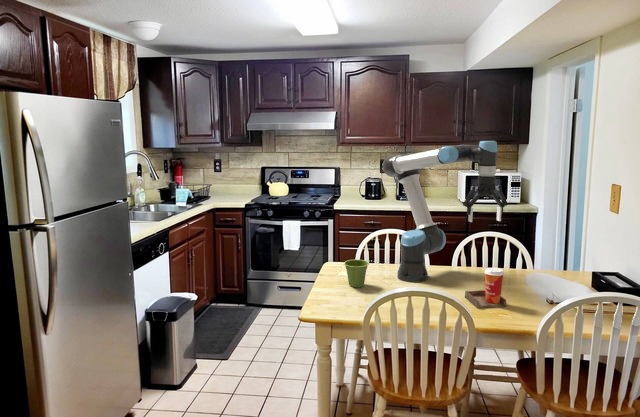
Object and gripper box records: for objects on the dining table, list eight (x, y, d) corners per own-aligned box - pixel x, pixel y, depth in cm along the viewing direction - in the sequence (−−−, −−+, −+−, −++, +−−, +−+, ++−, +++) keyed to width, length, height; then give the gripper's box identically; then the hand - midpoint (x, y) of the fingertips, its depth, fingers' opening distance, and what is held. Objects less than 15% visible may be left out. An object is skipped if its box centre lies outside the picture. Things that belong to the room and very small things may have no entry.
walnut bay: (476, 308, 191) (477, 301, 190) (464, 297, 203) (465, 291, 203) (506, 306, 192) (506, 300, 191) (492, 296, 204) (492, 289, 204)
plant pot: (339, 285, 221) (339, 263, 219) (354, 279, 230) (354, 258, 228) (358, 291, 213) (358, 268, 212) (373, 284, 222) (373, 262, 220)
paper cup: (480, 298, 199) (481, 267, 196) (497, 297, 200) (498, 266, 197) (488, 305, 191) (489, 273, 189) (505, 304, 192) (507, 272, 189)
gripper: (463, 176, 203) (461, 223, 207) (517, 175, 205) (514, 221, 209) (456, 175, 210) (455, 220, 214) (509, 173, 213) (506, 218, 216)
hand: (484, 221), depth 211 cm, fingers open, 13 cm apart
